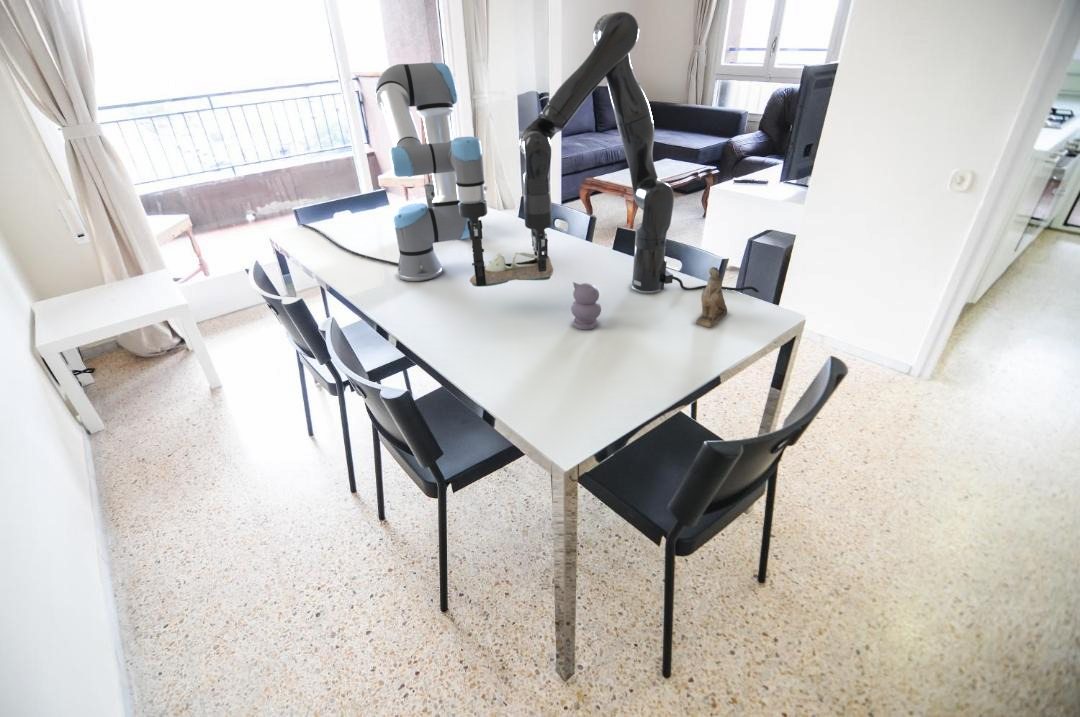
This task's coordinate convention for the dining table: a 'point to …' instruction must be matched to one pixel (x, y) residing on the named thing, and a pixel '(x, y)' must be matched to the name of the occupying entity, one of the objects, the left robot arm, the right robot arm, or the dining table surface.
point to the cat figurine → (585, 306)
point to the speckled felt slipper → (514, 270)
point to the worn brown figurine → (712, 301)
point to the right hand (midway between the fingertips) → (540, 266)
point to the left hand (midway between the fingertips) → (480, 279)
